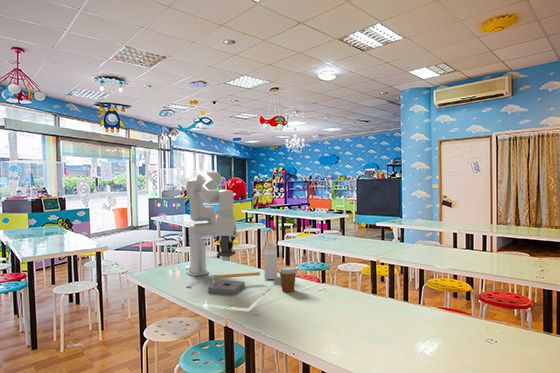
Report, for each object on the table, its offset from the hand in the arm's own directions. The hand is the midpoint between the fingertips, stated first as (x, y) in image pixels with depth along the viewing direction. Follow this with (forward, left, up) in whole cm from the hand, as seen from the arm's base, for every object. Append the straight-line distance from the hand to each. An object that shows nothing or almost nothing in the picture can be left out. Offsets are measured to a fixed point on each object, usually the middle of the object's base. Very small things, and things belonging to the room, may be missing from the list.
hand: (226, 248), depth 169 cm
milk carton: (+14, +30, -23) cm, 40 cm away
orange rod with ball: (+1, +9, -17) cm, 19 cm away
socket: (-1, 0, -23) cm, 23 cm away
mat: (-18, +8, -23) cm, 30 cm away
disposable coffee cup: (+30, +11, -23) cm, 39 cm away
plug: (0, 0, -6) cm, 6 cm away
